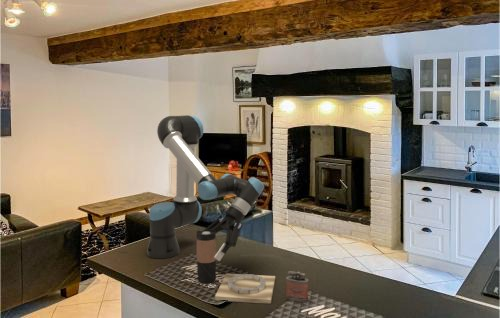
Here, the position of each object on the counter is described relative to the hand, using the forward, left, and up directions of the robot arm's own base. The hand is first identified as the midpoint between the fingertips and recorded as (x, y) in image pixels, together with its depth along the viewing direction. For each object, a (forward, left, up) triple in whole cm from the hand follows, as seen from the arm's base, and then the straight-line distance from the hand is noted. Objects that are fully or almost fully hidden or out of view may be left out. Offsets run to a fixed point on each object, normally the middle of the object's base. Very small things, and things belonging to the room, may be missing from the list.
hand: (207, 254), depth 158 cm
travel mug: (-1, 0, -11) cm, 11 cm away
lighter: (+10, +36, -11) cm, 39 cm away
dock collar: (+5, +17, -9) cm, 20 cm away
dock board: (+5, +17, -11) cm, 21 cm away
